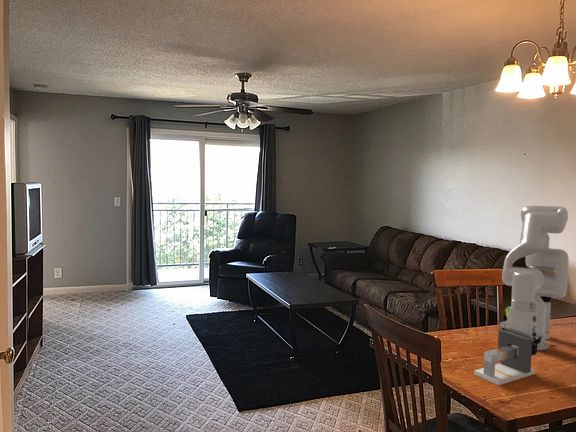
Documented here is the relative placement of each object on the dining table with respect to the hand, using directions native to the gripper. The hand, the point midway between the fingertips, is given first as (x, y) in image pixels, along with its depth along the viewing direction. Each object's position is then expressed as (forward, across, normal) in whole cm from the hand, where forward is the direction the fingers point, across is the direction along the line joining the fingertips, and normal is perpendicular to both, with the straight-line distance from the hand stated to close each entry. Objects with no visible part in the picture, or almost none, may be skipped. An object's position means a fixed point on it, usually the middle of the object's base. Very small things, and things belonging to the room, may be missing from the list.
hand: (520, 350), depth 169 cm
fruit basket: (+7, +30, -40) cm, 51 cm away
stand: (+7, 0, +9) cm, 11 cm away
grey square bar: (+1, 0, +9) cm, 9 cm away
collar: (+5, 0, +4) cm, 6 cm away
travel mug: (+7, +19, -44) cm, 48 cm away
